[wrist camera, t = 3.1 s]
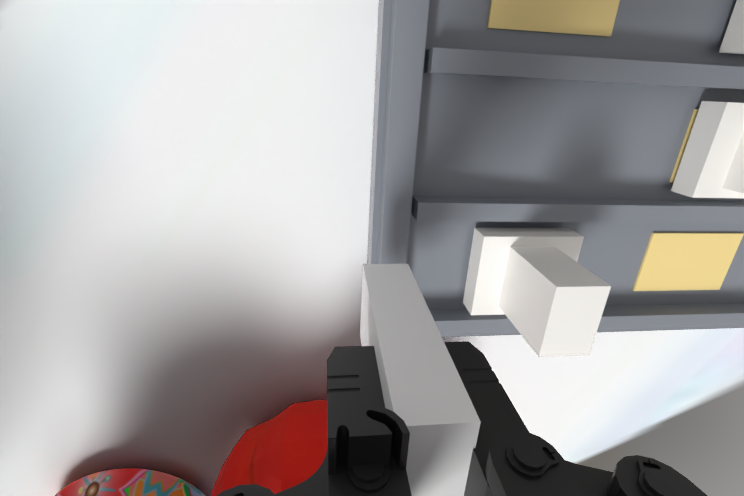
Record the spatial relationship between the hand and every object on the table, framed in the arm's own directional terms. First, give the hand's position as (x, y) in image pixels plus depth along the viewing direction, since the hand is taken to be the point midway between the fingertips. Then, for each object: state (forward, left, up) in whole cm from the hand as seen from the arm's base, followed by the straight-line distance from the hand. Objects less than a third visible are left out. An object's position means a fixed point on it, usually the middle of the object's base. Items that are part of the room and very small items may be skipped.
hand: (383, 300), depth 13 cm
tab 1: (+6, 0, -3) cm, 6 cm away
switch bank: (+10, +5, -4) cm, 12 cm away
